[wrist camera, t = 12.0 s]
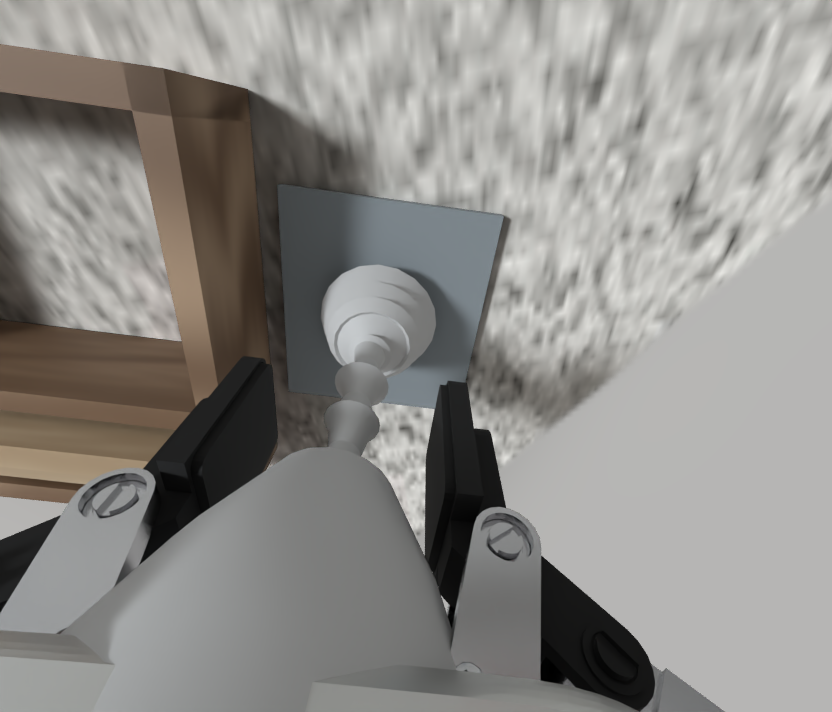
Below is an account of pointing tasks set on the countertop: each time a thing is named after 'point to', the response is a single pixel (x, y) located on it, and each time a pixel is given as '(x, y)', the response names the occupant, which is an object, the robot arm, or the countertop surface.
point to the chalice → (289, 553)
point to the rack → (182, 249)
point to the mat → (393, 247)
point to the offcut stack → (72, 446)
